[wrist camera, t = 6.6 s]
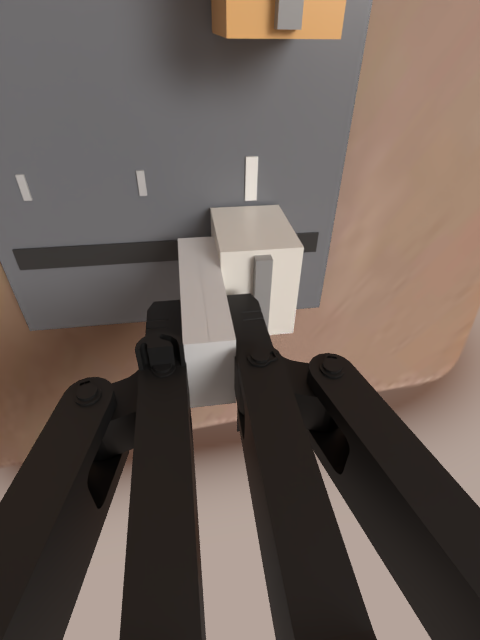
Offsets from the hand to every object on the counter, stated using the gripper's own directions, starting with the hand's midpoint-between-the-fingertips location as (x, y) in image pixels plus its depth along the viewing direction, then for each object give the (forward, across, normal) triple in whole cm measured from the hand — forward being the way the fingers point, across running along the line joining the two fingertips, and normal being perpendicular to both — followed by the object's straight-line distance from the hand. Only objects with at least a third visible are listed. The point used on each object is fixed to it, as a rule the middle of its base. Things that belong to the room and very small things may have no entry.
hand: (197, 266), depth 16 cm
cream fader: (+1, +2, 0) cm, 3 cm away
